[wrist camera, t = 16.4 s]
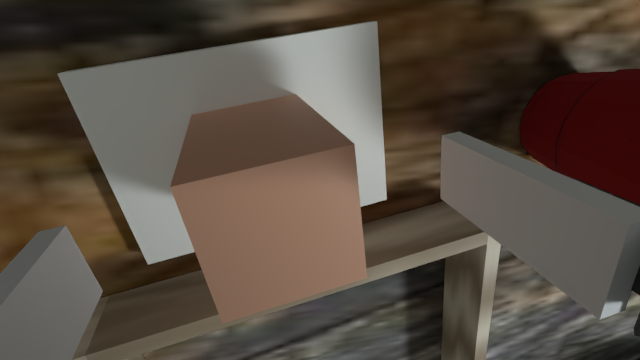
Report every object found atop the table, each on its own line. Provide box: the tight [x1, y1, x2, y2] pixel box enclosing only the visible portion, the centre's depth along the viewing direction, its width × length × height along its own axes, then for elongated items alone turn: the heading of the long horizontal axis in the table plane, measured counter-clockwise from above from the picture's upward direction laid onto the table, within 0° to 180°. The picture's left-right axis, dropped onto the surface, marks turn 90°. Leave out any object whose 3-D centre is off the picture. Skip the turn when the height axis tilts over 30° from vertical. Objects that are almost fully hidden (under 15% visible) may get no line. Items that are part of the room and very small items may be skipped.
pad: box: [58, 21, 387, 265], centre depth 17 cm, size 10×14×1 cm
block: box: [170, 94, 367, 324], centre depth 14 cm, size 5×5×8 cm
